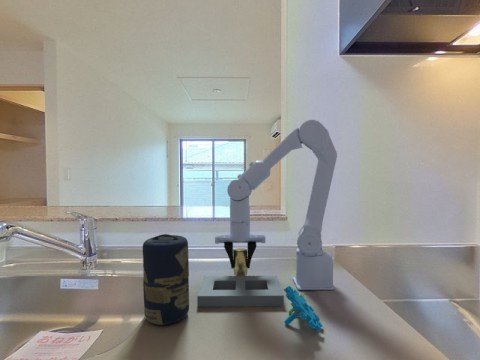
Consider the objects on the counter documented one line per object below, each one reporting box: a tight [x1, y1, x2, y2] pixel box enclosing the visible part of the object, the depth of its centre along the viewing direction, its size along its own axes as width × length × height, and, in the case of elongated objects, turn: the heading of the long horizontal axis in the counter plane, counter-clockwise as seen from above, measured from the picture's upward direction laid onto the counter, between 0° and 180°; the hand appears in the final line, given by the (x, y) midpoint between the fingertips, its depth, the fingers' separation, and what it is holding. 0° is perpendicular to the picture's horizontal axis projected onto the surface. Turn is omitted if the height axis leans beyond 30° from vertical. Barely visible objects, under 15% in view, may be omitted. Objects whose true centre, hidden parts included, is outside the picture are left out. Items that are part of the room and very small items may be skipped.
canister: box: [142, 233, 190, 326], centre depth 60 cm, size 10×10×18 cm
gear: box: [283, 285, 323, 332], centre depth 57 cm, size 11×6×10 cm
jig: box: [196, 275, 285, 308], centre depth 71 cm, size 20×12×2 cm, turn 90°
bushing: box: [233, 247, 248, 276], centre depth 82 cm, size 4×4×7 cm
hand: (240, 267), depth 82 cm, fingers closed on bushing, 4 cm apart
